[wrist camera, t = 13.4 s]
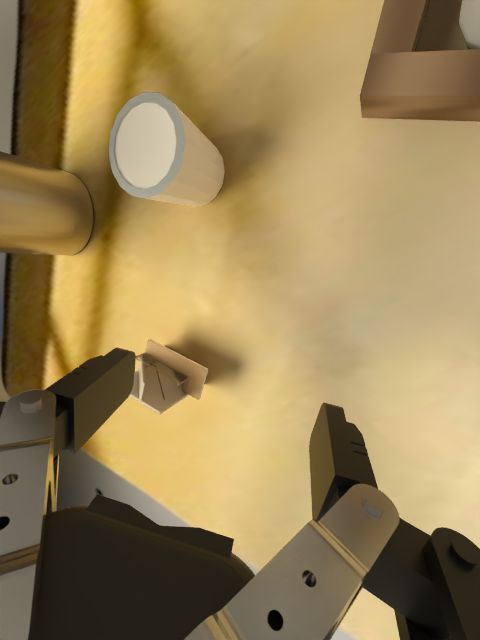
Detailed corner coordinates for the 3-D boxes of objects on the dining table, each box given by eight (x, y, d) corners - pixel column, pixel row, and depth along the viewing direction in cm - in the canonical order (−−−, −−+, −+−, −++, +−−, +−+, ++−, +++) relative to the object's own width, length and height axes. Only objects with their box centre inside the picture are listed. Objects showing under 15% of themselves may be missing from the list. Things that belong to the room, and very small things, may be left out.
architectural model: (170, 331, 32) (115, 348, 25) (225, 358, 29) (181, 385, 23) (163, 359, 33) (109, 383, 26) (216, 387, 30) (171, 421, 24)
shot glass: (157, 158, 29) (95, 126, 22) (216, 116, 26) (163, 66, 19) (180, 226, 29) (125, 214, 22) (241, 193, 26) (197, 168, 19)
